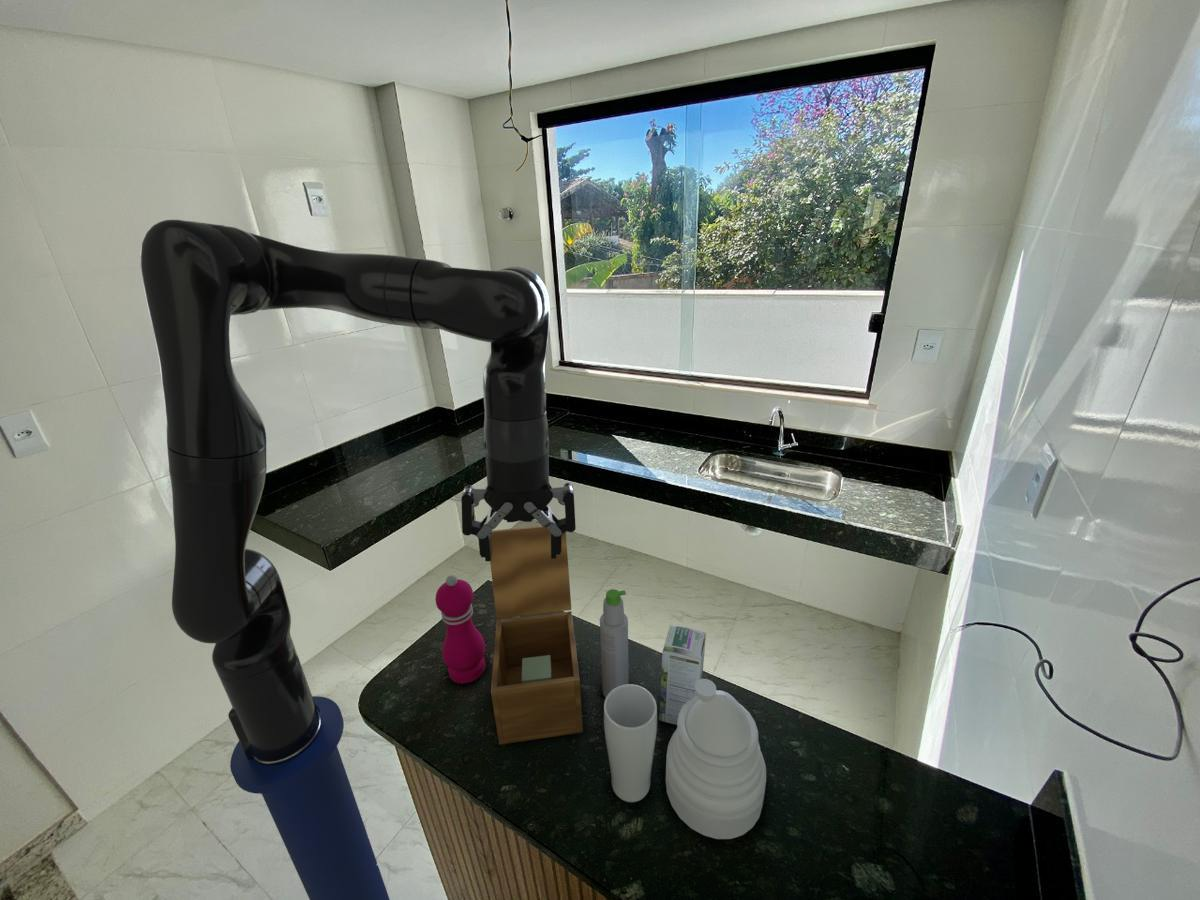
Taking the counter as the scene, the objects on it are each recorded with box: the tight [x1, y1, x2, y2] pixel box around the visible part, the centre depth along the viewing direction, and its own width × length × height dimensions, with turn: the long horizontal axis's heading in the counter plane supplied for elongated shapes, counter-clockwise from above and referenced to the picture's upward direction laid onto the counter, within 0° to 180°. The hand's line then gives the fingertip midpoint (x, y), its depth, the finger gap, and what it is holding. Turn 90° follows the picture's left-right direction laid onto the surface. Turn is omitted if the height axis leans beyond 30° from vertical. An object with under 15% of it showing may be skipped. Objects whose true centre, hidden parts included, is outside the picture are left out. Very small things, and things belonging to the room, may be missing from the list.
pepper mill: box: [434, 574, 486, 685], centre depth 82 cm, size 7×7×20 cm
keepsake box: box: [490, 610, 584, 745], centre depth 78 cm, size 15×13×11 cm
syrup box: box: [658, 624, 707, 726], centre depth 74 cm, size 6×6×14 cm
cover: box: [489, 525, 572, 620], centre depth 80 cm, size 15×13×1 cm
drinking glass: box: [603, 683, 658, 803], centre depth 63 cm, size 7×7×15 cm
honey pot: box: [665, 678, 767, 840], centre depth 62 cm, size 13×13×18 cm
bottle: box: [599, 588, 630, 699], centre depth 77 cm, size 4×4×20 cm
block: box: [522, 655, 552, 683], centre depth 76 cm, size 4×4×8 cm
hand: (521, 556), depth 65 cm, fingers open, 8 cm apart
